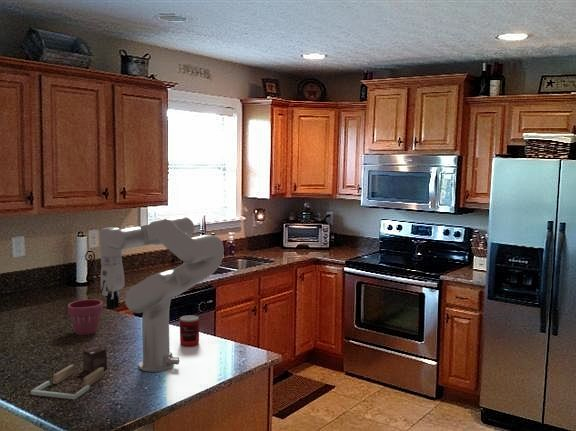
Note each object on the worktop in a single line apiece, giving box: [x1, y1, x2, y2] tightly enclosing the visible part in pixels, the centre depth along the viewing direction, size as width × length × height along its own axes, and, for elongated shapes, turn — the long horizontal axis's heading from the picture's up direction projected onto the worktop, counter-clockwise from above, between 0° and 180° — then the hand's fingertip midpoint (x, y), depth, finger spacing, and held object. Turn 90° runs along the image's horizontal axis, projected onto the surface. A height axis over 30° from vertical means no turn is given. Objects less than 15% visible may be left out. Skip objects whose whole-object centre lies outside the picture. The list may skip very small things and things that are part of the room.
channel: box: [52, 364, 105, 388], centre depth 195 cm, size 13×10×3 cm
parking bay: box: [30, 380, 91, 400], centre depth 185 cm, size 16×8×1 cm, turn 77°
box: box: [82, 345, 108, 373], centre depth 205 cm, size 6×6×7 cm
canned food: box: [179, 314, 200, 348], centre depth 233 cm, size 8×8×11 cm
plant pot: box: [67, 298, 104, 336], centre depth 248 cm, size 14×14×13 cm
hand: (112, 307), depth 216 cm, fingers closed
